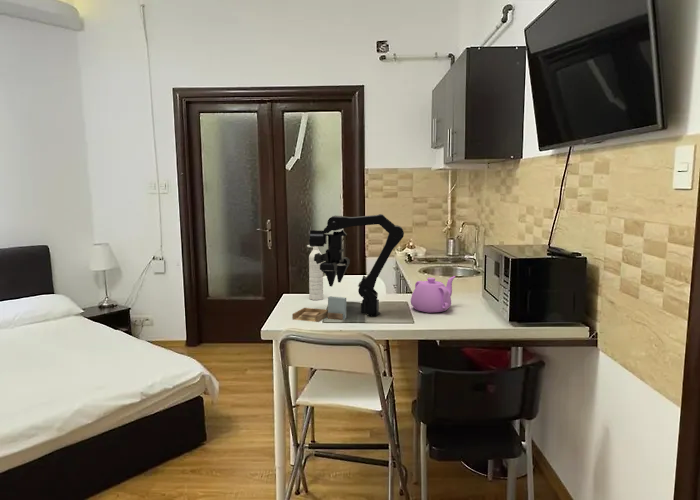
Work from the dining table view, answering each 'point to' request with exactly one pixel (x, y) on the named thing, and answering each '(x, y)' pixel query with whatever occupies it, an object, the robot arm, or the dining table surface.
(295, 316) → the tray
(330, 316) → the holder
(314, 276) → the water bottle
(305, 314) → the offcut top
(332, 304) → the grey rectangular slab
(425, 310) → the teapot
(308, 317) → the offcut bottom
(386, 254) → the robot arm
